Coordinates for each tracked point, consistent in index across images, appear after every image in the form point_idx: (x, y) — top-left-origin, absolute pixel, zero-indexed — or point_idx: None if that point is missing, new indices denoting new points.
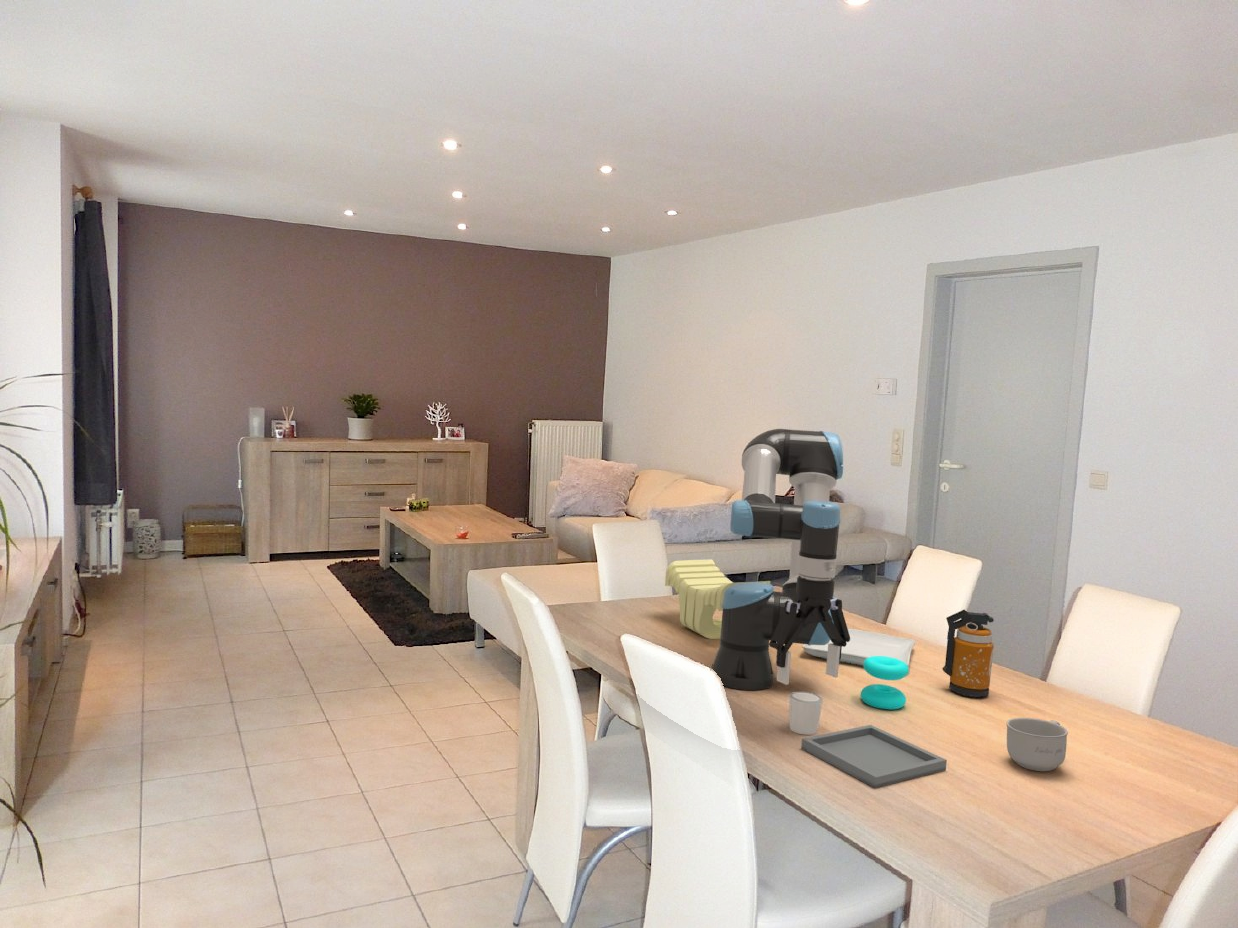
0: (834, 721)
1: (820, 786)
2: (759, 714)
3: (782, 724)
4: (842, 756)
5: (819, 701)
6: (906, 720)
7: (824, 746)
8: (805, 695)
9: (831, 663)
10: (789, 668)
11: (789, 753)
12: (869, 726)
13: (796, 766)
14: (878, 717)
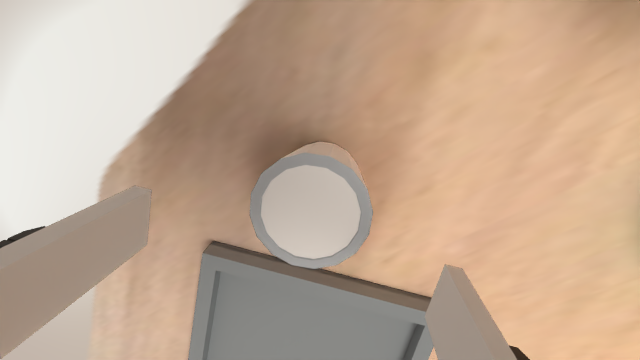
0: (454, 200)
1: (108, 347)
2: (313, 21)
3: (304, 120)
4: (202, 353)
5: (312, 265)
6: (631, 319)
7: (253, 280)
8: (326, 202)
9: (451, 335)
10: (92, 285)
11: (168, 238)
12: None
13: (131, 280)
14: (594, 262)
